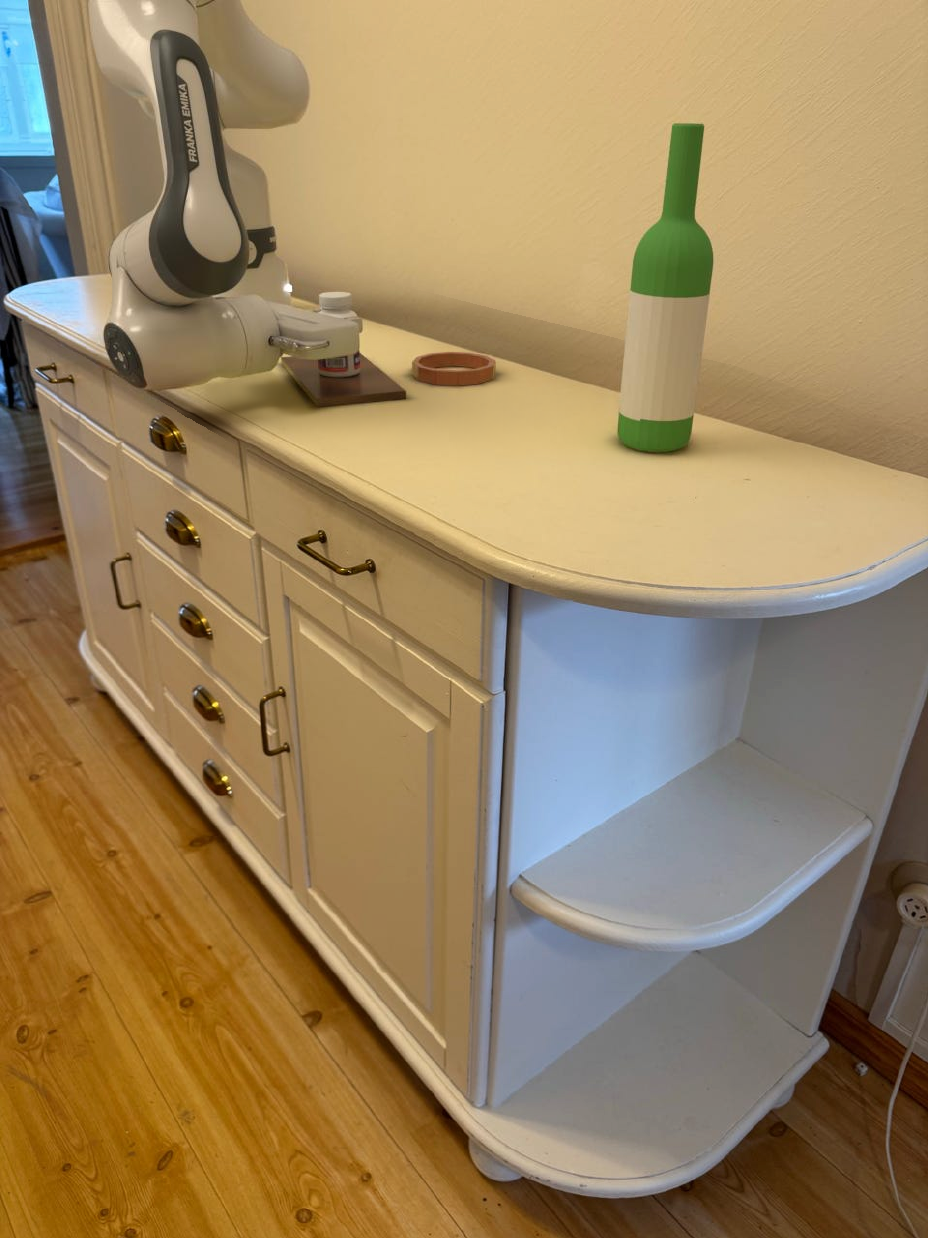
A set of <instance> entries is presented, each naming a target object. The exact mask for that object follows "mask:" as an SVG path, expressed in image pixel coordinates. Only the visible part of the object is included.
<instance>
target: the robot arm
mask: <svg viewBox="0 0 928 1238" xmlns="http://www.w3.org/2000/svg"><path fill="white" fill-rule="evenodd" d="M87 9H88V10H87V11H88V21H89V32H90V37H91V43H92V48H93V51H94V54H95V58H96V61H97V65H98V69H100V71H101V73H102V74H103V76H104V77H105V78H106V79H107V80H108V81H109V82H110V83H111V84H112V85H113V86H114V87H115V88H116V89H118V90H119V91H121V92H122V93H123V94H125V95H127V96H129V97H131V98H133V99H135V100H137V102H138V103H139V106H140V107H141V110H142V111H143V112H144V113H145V115H146V116H148V118H149V119H150V120H151V121H152V122H153V123H155V124H156V131H157V138H158V144H159V150H160V157H161V164H162V170H163V188H162V190H161V195H160V197H159V198H158V201H157V203H156V204H155V205H154V208H153V209H152V210H151V211H149V212H148V213H146V214H145V215H143V216H141V217H140V218H138V219H136V220H135V221H134V222H132V223H131V224H129V225H127V226H126V227H125V228H124V229H123V230H121V231H120V232H118V233H117V235H116V236H115V237H114V239H113V241H112V243H111V245H110V248H109V252H108V269H109V273H110V276H111V283H112V297H111V307H110V311H109V315H108V318H107V321H105V325H104V327H103V332H102V333H103V335H102V336H103V342H104V343H103V344H104V348H105V351H106V353H107V356H108V358H109V361H110V363H111V364H112V366H113V368H114V369H115V371H116V373H118V375H120V376H121V377H122V379H123V380H125V381H126V383H128V384H129V385H130V386H132V387H135V388H137V389H140V390H144V391H170V390H178V389H185V388H191V387H195V386H202V385H205V384H207V383H209V382H210V381H212V380H214V379H218V378H219V379H220V378H221V379H237V378H242V377H247V376H253V375H257V374H262V373H268V372H271V371H273V370H275V368H276V366H277V365H278V363H279V361H280V359H281V357H283V356H284V355H287V356H289V357H290V356H293V357H297V358H300V359H305V360H319V359H328V358H335V357H342V356H349V355H354V354H356V353H357V352H358V351H359V350H360V347H361V345H360V344H361V343H360V339H361V338H360V334H361V333H362V332H363V330H364V327H363V318H361V317H358V316H357V317H346V318H344V319H341V318H337V317H333V316H329V315H325V314H321V313H318V312H320V311H322V308H315V309H303V308H301V307H298V306H295V305H293V302H292V296H291V292H293V289H292V288H293V287H292V285H291V284H290V279H289V278H290V277H289V270H288V269H289V268H288V265H287V262H284V260H282V258H280V257H279V256H278V254H277V253H276V250H277V248H278V246H277V240H278V239H277V234H276V230H275V229H276V228H275V227H274V225H273V223H272V211H271V200H270V199H271V198H270V187H269V179H268V177H267V174H266V172H265V171H264V169H263V168H262V167H261V166H260V165H259V164H258V163H257V162H256V161H254V160H253V159H251V158H249V157H248V156H246V155H244V154H242V153H240V152H238V151H236V150H235V149H233V148H232V147H231V146H230V143H228V141H227V138H226V135H225V130H228V129H229V130H230V129H231V130H232V129H234V130H239V129H240V130H273V129H277V128H281V127H282V128H283V127H286V126H291V125H295V124H298V123H299V122H300V121H301V120H302V118H303V117H304V116H305V114H306V112H307V109H308V106H309V103H310V97H311V85H310V84H311V83H310V79H309V76H308V72H307V70H306V68H305V66H304V64H303V62H302V60H301V59H300V58H299V57H298V55H297V54H296V53H295V52H294V51H292V50H290V49H289V48H286V47H284V46H282V45H280V44H279V43H277V42H275V41H274V40H273V39H271V38H269V37H268V35H266V34H265V33H264V32H263V31H262V30H261V29H260V28H259V27H258V26H257V25H256V23H254V22H253V21H252V20H251V18H250V17H249V15H248V14H247V11H245V8H244V6H243V4H242V1H241V0H87Z"/></svg>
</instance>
